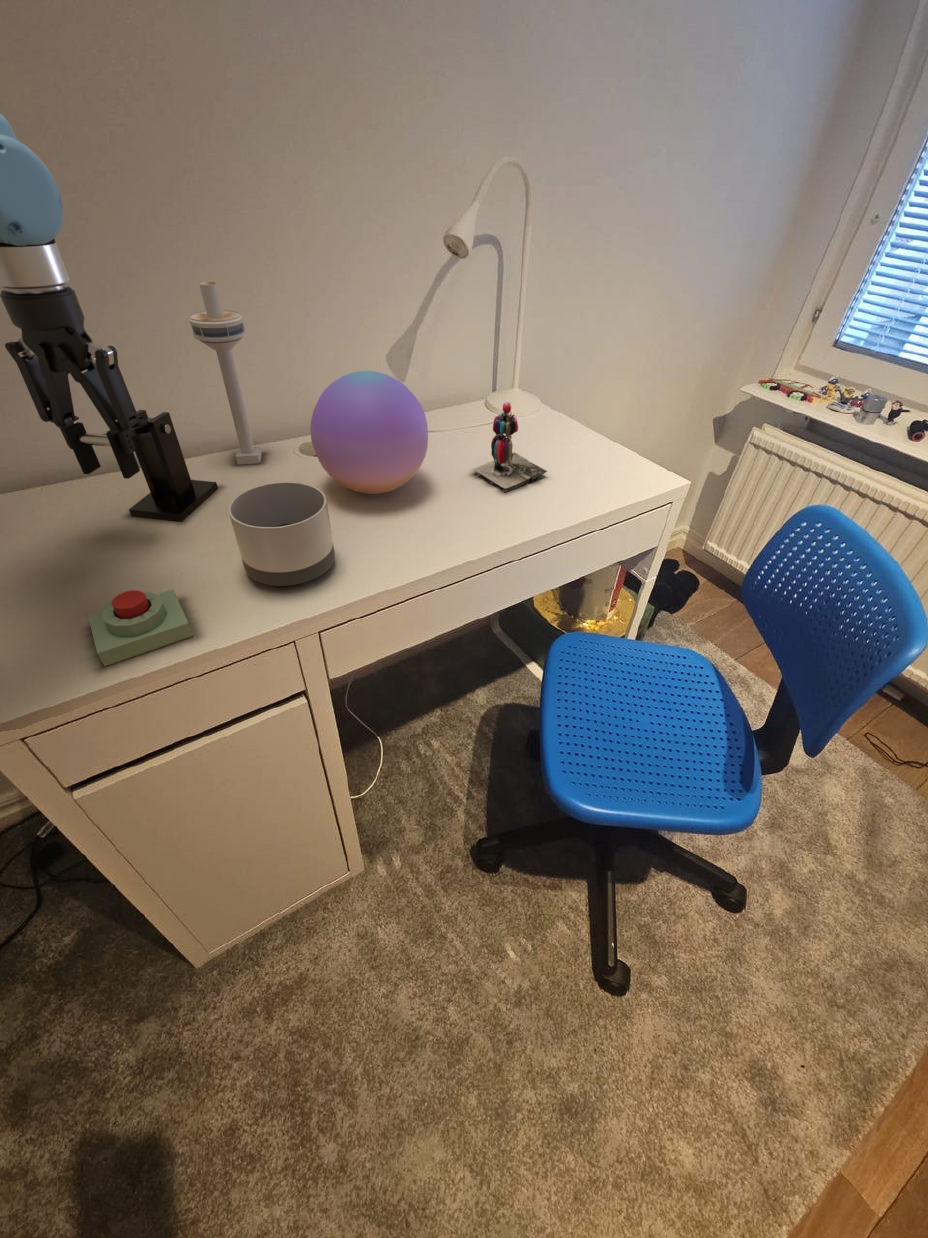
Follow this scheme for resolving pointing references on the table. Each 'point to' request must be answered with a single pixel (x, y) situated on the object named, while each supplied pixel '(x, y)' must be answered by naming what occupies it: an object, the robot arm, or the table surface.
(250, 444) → the model tower
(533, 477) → the statue
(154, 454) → the bracket
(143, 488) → the table surface
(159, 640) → the button base
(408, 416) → the ball
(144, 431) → the lever
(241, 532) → the planter
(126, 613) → the button
